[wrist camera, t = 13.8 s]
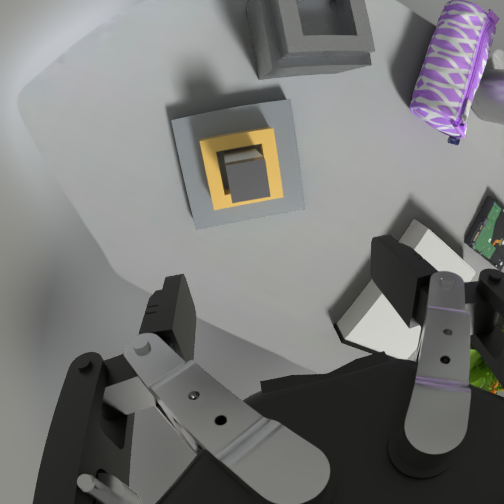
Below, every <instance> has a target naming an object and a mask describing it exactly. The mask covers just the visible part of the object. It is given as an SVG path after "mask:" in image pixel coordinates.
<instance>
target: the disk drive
mask: <svg viewBox="0 0 504 504" xmlns="http://www.w3.org/2000/svg"><path fill="white" fill-rule="evenodd" d="M464 243H466V244H467V245H468V246H469V247H470V248H472V249H473V250H474V251H476V252H477V253H478V254H480V255H481V256H482V257H484V258H485V259H486V260H487V261H488V262H490V263H491V264H492V265H493V266H494V267H496V268H497V269H498V270H500V271H501V270H502V268H503V266H504V209H503V207H502V206H501V205H500V204H499V203H498V202H497V201H496V200H495V199H493V198H491V197H489V196H488V197H487V199H486V201H485V203H484V205H483V207H482V209H481V211H480V213H479V215H478V217H477V219H476V221H475V223H474V225H473V226H472V228H471V230H470V232H469V234H468V236H467V237H466V239H465V241H464Z"/></svg>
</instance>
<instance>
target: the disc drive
mask: <svg viewBox="0 0 504 504" xmlns="http://www.w3.org/2000/svg"><path fill="white" fill-rule="evenodd" d="M399 243H403V244H405V245H407V246H410V247H412V248H413V249H414V250H415V251H416V252H417V253H418V254H420V255H421V256H422V257H423V259H425V260H426V261H428V262H429V263H430V264H431V265H432V266H433V267H434V268H435V269H437V270H438V271H449V272H453V273H456V274H457V275H459V276H460V277H461V278H462V279H463V281H464V282H470V281H471V279H472V278H473V276H474V275H475V274H476V272H475V271H474V270H473V269H472V268H471V267H470V266H469V265H468V264H467V263H466V262H465V261H464V260H463V259H462V258H460V257H459V256H458V255H457V254H456V253H455V252H454V251H453V250H452V249H451V248H450V247H449V246H448V245H446V244H445V243H444V242H443V241H442V240H441V239H440V238H439V237H437V236H436V235H435V234H434V233H433V232H432V231H431V230H429V229H428V228H427V227H425V226H424V225H423V224H421V223H420V222H418V221H417V220H415V219H413V221H412V222H411V224H410V225H409V227H408V228H407V230H406V231H405V233H404V234H403V236H402V237H401V239H400V240H399ZM334 328H335V330H336V332H337V334H338V336H339V339H340V341H341V343H343V344H346V345H349V346H352V347H355V348H357V349H360V350H363V351H366V352H369V353H372V354H376V353H379V352H382V351H384V352H385V353H386V355H387V357H388V358H389V359H407V358H408V357H409V356H410V355H411V354H412V353H413V352H414V351H415V350H416V348H417V345H418V340H419V335H420V330H421V326H420V325H419V326H416V327H413V328H410V329H409V328H408V326H407V325H406V324H405V322H404V321H403V320H402V318H401V317H400V316H399V314H398V313H397V312H396V310H395V309H394V308H393V306H392V305H391V304H390V302H389V301H388V300H387V299H386V297H385V296H384V295H383V293H382V292H381V291H380V290H379V288H378V287H377V286H376V284H375V283H374V281H373V279H371V281H370V282H369V283H368V284H367V286H366V287H365V288H364V290H363V291H362V292H361V294H360V295H359V296H358V297H357V299H356V300H355V301H354V303H353V304H352V305H351V306H350V308H349V309H348V310H347V311H346V313H345V314H344V315H343V316H342V318H341V319H340V320H339V321H338V322H337V324H336V323H335V325H334Z"/></svg>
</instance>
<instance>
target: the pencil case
mask: <svg viewBox="0 0 504 504" xmlns="http://www.w3.org/2000/svg"><path fill="white" fill-rule="evenodd" d="M498 20H499V18H498V17H497V15H496V14H495V13H494V12H493V11H492V10H491V9H489V13H488V14H487V13H486V12H485V11H484V10H483V9H482V8H481V7H479V6H478V5H476V4H474V3H471V2H468V1H463V0H452V1H449V2H448V3H447V4H446V5H445V7H444V10H443V11H442V14H441V16H440V18H439V20H438V24H437V28H436V30H435V32H434V34H433V36H432V39H431V41H430V44H429V47H428V50H427V54H426V57H425V60H424V63H423V66H422V69H421V72H420V74H419V77H418V80H417V82H416V85H415V88H414V91H413V97H412V101H411V103H410V106H409V108H410V110H411V112H413V113H414V114H415V115H416V116H417V117H419V118H421V119H423V120H424V121H425V122H426V123H428V124H429V125H430V126H432V127H433V128H435V129H436V130H438V131H440V132H442V133H444V134H446V135H449V136H450V137H449V138H448V143H451V144H455V145H458V144H459V142H460V139H459V138H462V137H463V138H465V137H466V136H465V133H466V128H467V126H466V121H467V117H468V114H469V110H470V107H471V104H472V101H473V98H474V95H475V92H476V90H477V88H478V86H479V82H480V80H481V78H482V75H483V72H484V69H485V66H486V63H487V59H488V55H489V52H490V47H491V45H492V42H493V38H494V35H495V33H496V27H495V25H496V24H497V22H498Z"/></svg>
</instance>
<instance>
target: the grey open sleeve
mask: <svg viewBox="0 0 504 504" xmlns="http://www.w3.org/2000/svg"><path fill="white" fill-rule="evenodd" d="M246 13H247V18H248V23H249V28H250V34H251V39H252V44H253V50H254V55H255V60H256V66H257V72H258V77H259V80H262V79H270V78H279V77H288V76H300V75H314V74H333V73H340V72H344V71H348V70H352V69H356V68H360V67H365V66H369V65H371V59H370V53H371V52H375V48H374V43H373V37H372V32H371V27H370V23H369V18H368V14H367V9H366V5H365V1H364V0H248V2H247V6H246Z"/></svg>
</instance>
